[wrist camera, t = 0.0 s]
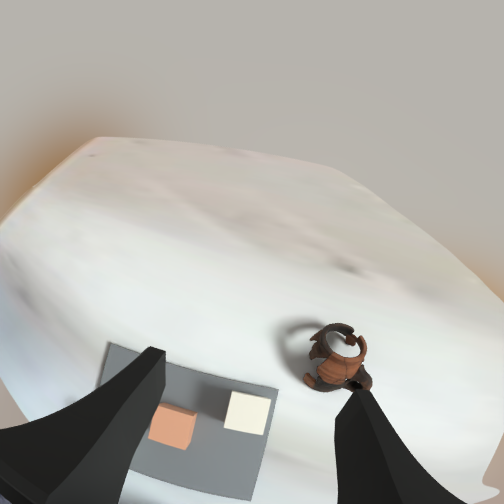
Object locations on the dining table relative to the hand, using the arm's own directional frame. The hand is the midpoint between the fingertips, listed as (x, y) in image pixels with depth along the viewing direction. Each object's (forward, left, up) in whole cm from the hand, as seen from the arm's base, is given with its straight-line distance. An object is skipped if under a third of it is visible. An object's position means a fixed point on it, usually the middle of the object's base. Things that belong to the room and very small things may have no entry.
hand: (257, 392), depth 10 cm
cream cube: (-4, -2, -31) cm, 32 cm away
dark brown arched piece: (+5, -14, -33) cm, 36 cm away
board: (-9, +7, -32) cm, 34 cm away
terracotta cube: (-8, +7, -31) cm, 33 cm away
